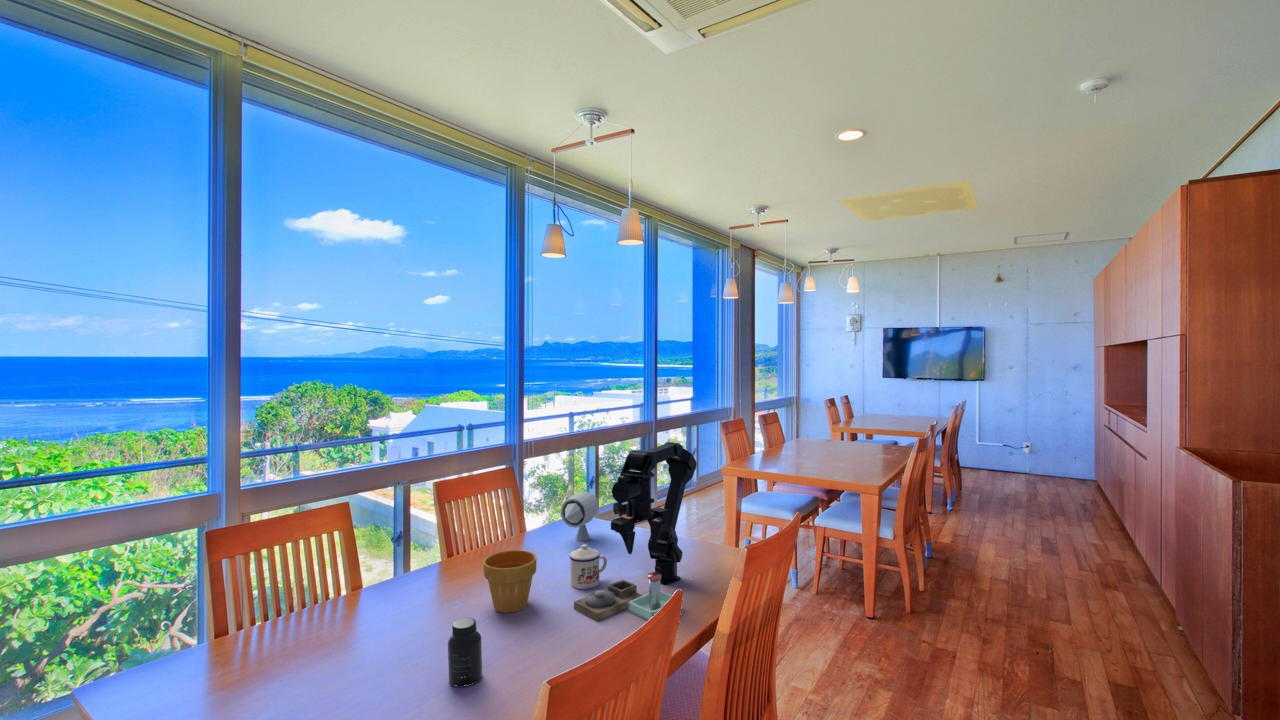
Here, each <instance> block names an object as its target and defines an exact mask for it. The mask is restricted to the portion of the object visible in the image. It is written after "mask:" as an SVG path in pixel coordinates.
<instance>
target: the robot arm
mask: <svg viewBox="0 0 1280 720" xmlns="http://www.w3.org/2000/svg"><path fill="white" fill-rule="evenodd" d="M663 461H665V463H666V464H667V465H668V471H667V472H668V474H669V478H670V482H669V486H668V490H667V494H666V498H665V502H664V506H663V508H662V507H660V506H656V507H653V508H652V504H653V503H655V498H653V497H652V486H651V485H652V478H654V477H655V473H654V472H652V471H653V470H654V469H656V468H657V464H659V463H661V462H663ZM697 466H698V465H697V460H696V458H695V457H694V455H693V453H691V452H689V450H687V449H686V448H684V447H683V445H682V444H681V443H679V442H669V441H668V442H665V443H664V444H661V445H659V446H655V447H653V448H650V449H646V450H644V449H638V450H637V449H634V450H630V451H629V452H628V455H627V456H626V458H625V461H624V464H623V466H622V468H621V471H620V476H618V477H617V481H616V482H615V483H614V484H613V485H612V488H611V494H612V497H613V499H614V500H615V503H613V505H612V506H613V507H612V509H613V514H614V515H618V518H617V517H616V518H614V519H612V520H611V522H610V531H611V530H612V531H613V532H615V533H618V534H619V535H620V536H621V538H622V540H623V543H624V546H625V548H626V551H627V554H629V555H632V554H633V550H634V544H635V539H636V538H635V537H636V531H635V528H636V526H637V525H640V524H643V523H646V522H647V523H648V525H649V527H650V528H649V529H650V535H649V536H650V537H649V539H648V543H647V548H648V553H649V557H650V559H651V560H655V563H654V564H655V565H654V572H657V573H660V574H661V579H660V584H662V585H663V584H664V585H669V584H673V583H674V582H677V581H679V580H681V579H682V577H681V576H679V575H678V563H681V561H682V558H683V550H682V549H681V548H680V547H679V545H678V541H679V538H678V535H677V531H676V526H677V523H678V518H679V515H680V510H681V506H682V502H683V498H684V493H685V489H686V486H687V484H688V483H689V481H690V480H692V479H693V477H694V475H695V471H696V469H697ZM624 503H625V504H624ZM623 516H626V517H627V518H626V517H623Z"/></svg>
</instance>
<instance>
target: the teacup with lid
mask: <svg viewBox="0 0 1280 720" xmlns="http://www.w3.org/2000/svg"><path fill="white" fill-rule="evenodd" d="M580 546H581V547H579V548H578V549H574V550H573V551H571V552H570V554H569V560H570V565H569V566H570V568H569V569H570V586H571V587H573V588H575V589H578V590H587V589H588V590H590V589H593V588H596V587H597V586H599V584H600V573H602V572H603V571H605V569H607V568H606V567H607V565H608V560H607V557H606V556H605V555H602V554H600V552H599V551H598V550H597V549H595V548H592V547H589V545H588V544H585V543H584V544H582V545H580ZM600 559H603V564H602V566H601V567H600Z"/></svg>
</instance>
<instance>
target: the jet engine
mask: <svg viewBox="0 0 1280 720" xmlns="http://www.w3.org/2000/svg"><path fill="white" fill-rule="evenodd" d="M599 507H600V503H599V500H598V498H597V496H596V495H595V494H593V493H592V492H588V491H584V492H583V491H581V492H577V493H576V494H573V495H571V496H570V497H569V498H567V499H566V500H565V501H564V502H563V503H562V504H561V507H560V517H561V520H562V522H564V524H565V525H566V526H568V527H570V528H573V529H574V528H578V530H577V532H576V536H575V541H576V542H581V543H583V542H588V541H590V540H591V536H590V534H589V532H588V529H587V526H586V525H587V524H588V523H590V522H591V521H592V520H593V519H594V518H595V517H596V516H597V514H598V511H599Z"/></svg>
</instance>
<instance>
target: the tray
mask: <svg viewBox="0 0 1280 720" xmlns="http://www.w3.org/2000/svg"><path fill="white" fill-rule="evenodd" d="M672 596H673V595H672V594H670V593H667V592H665V591H662V590H660V598H661V608H662V607H663V606H664V604H665V603H666V602H667V601H668V600H669V599H670V598H671V597H672ZM661 608H659V609H656V610H651V609H650V608H649V592H648V593H646V594H642V596H641V597H638V598H636V599H634V600H631V601H629V602H628V608H627V612H629V613H631V614H633V615H635V616H637V617H639V618H642V619H643V620H646V621H647V620H649V619H650V618H651V617H652V616H654V614H656V613H657V612H658V611H659V610H660V609H661Z"/></svg>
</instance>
